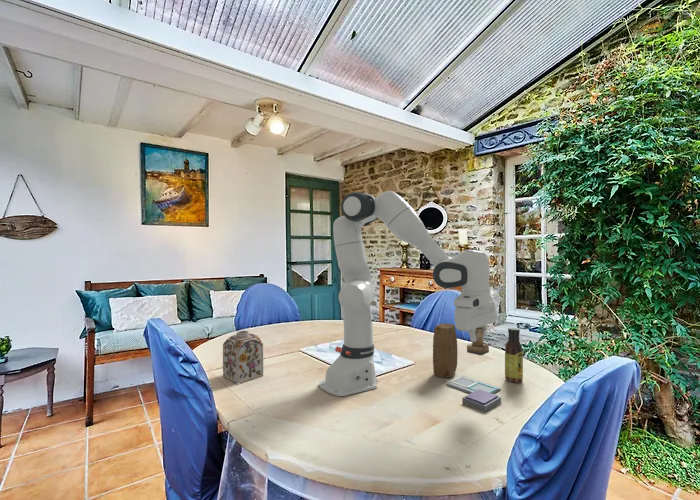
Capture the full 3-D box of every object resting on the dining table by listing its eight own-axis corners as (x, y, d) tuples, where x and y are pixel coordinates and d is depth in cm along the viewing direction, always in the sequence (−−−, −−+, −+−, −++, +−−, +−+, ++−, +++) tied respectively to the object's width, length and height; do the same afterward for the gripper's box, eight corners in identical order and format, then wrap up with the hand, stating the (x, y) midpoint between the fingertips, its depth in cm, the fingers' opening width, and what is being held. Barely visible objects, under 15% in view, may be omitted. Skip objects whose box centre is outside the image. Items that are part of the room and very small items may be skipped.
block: (448, 380, 133) (448, 328, 133) (430, 375, 138) (430, 325, 138) (459, 372, 141) (459, 323, 141) (442, 368, 146) (442, 320, 146)
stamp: (481, 355, 111) (480, 330, 111) (467, 352, 115) (466, 328, 115) (488, 352, 114) (488, 328, 114) (475, 349, 118) (474, 325, 118)
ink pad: (485, 412, 107) (485, 404, 107) (462, 403, 113) (462, 396, 113) (501, 402, 114) (501, 395, 114) (478, 394, 120) (478, 388, 120)
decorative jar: (222, 377, 137) (221, 331, 137) (248, 369, 145) (248, 326, 145) (237, 385, 129) (237, 337, 129) (264, 376, 137) (264, 331, 137)
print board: (484, 398, 117) (484, 395, 117) (446, 385, 128) (446, 382, 128) (500, 390, 124) (500, 387, 124) (463, 377, 135) (463, 375, 135)
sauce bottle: (521, 385, 128) (522, 331, 128) (503, 381, 131) (503, 329, 131) (523, 379, 133) (523, 328, 133) (506, 376, 137) (506, 326, 137)
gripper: (483, 294, 124) (484, 332, 124) (450, 301, 111) (452, 344, 111) (500, 295, 119) (501, 335, 119) (468, 303, 106) (469, 348, 106)
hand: (477, 339), depth 115 cm, fingers closed on stamp, 3 cm apart
